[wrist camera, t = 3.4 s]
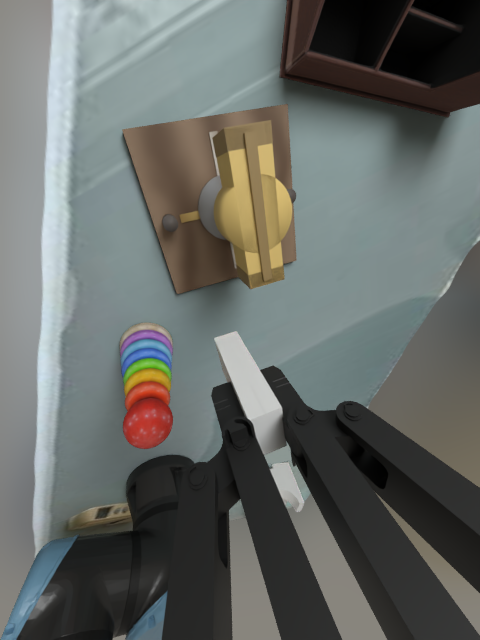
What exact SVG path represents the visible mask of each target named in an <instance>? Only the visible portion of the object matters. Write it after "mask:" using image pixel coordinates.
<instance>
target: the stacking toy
mask: <svg viewBox="0 0 480 640" xmlns="http://www.w3.org/2000/svg"><path fill="white" fill-rule="evenodd" d="M172 347H173V341H172V337H171V335H170V334H169V332H168V331H167V330H166V329H165V328H163V327H162V326H160V325H157V324H154V323H140V324H137V325H134V326H132V327H131V328H129V329H128V330H127V331H126V332H125V333H124V334H123V336H122V337H121V340H120V356H121V367H122V368H121V372H122V376H123V381H124V386H125V387H124V392H125V396H126V398H125V407H126V409H127V411H128V412H127V414H126V416H125V418H124V422H123V432H124V435H125V438H126V439H127V441H128V442H129V443H130V444H131V445H133V446H135V447H137V448H141V449H148V448H152V447H155V446H157V445H159V444H160V443H162V442H163V441H164V440H165V439H166V438H167V436H168V435H169V433H170V431H171V429H172V425H173V416H172V412H171V410H170V408H169V407H168V405H169V402H170V394H169V392H170V389H171V363H172V353H173V348H172Z"/></svg>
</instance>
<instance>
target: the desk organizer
mask: <svg viewBox="0 0 480 640" xmlns="http://www.w3.org/2000/svg"><path fill="white" fill-rule="evenodd" d="M279 77H281V78H286V79H290V80H295V81H299V82H303V83H307V84H311V85H315V86H319V87H323V88H328V89H332V90H336V91H340V92H345V93H349V94H353V95H357V96H361V97H366V98H370V99H374V100H378V101H382V102H386V103H390V104H394V105H398V106H403V107H407V108H411V109H415V110H419V111H424V112H428V113H431V114H436V115H440V116H445V117H449V115H450V112H453V111H456V110H459V109H462V108H466V107H470V106H474V105H477V104H480V0H287V7H286V17H285V27H284V37H283V46H282V57H281V67H280V76H279Z"/></svg>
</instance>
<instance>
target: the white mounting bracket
mask: <svg viewBox="0 0 480 640" xmlns="http://www.w3.org/2000/svg"><path fill="white" fill-rule="evenodd" d="M270 471H271V473H272V476H273V478H274V480H275V483H276V485H277V487H278V490H279V492H280V495H281V497H282V499H283V502H284V504H285V505H286V503H287V501H288V502H290V503H291V504H292V506H293V507H294V508H295V510H296V512H299V511H301V510H302V507H303V505H304V500H303V498H302V495H301V493H300V490H299V488H298V485H297V483H296V480H295V478H294V475H293V473H292V470H291V468H290V465H289V463H288V462H285V463H277V464H272V466H271V469H270Z"/></svg>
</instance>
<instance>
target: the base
mask: <svg viewBox="0 0 480 640" xmlns="http://www.w3.org/2000/svg"><path fill="white" fill-rule="evenodd" d="M268 120H271V126H272V138H273V143H272V144H273V156H274V167H275V178H276V179H277V180H279V181H280V182H281V183H282V184H283V185H284V187H285V188H286V189H287V191H288V193H289V196H290V199H291V203H292V219H291V223H290V226H289V229H288V231H287V233H286V235H285V237H284V238H283V239H282V240H281V249H282V261H283V264H285V263H289V262H293V261H296V244H295V227H294V209H293V202H294V201H295V199H296V193H295V191H294V190H293V189H292V173H291V156H290V138H289V120H288V104H285V105H278V106H272V107H265V108H259V109H252V110H246V111H239V112H233V113H226V114H220V115H214V116H207V117H201V118H194V119H188V120H181V121H175V122H168V123H162V124H155V125H149V126H142V127H136V128H129V129H123V130H122V131H123V134H124V137H125V140H126V143H127V146H128V149H129V152H130V155H131V158H132V161H133V164H134V167H135V170H136V173H137V176H138V178H139V181H140V184H141V187H142V190H143V193H144V196H145V199H146V202H147V205H148V208H149V211H150V214H151V217H152V220H153V223H154V226H155V229H156V232H157V235H158V238H159V241H160V244H161V247H162V250H163V253H164V256H165V259H166V262H167V265H168V268H169V271H170V274H171V277H172V280H173V283H174V286H175V289H176V292H177V294H179V293H183V292H187V291H190V290H194V289H197V288H201V287H204V286H208V285H211V284H215V283H218V282H222V281H225V280H229V279H232V278H236V277H238V273H237V268H236V260H235V255H234V249H233V244H232V243H231V242H230V241H228V240H227V239H225V238H224V237H223V236H222V235H221V233H220V232H219V230H218V228H217V226H216V224H215V220H214V203H215V199H216V197H217V194H218V192H219V191H220V189H221V188H222V185H221V179H220V174H219V168H218V163H217V158H216V155H215V150H214V144H213V139H212V138H213V137H214V136H215V135H216V134H217V133H218V132H220V131H221V130H222V129H223V128H225V127H231V126H237V125H243V124H250V123H256V122H262V121H268Z"/></svg>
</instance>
